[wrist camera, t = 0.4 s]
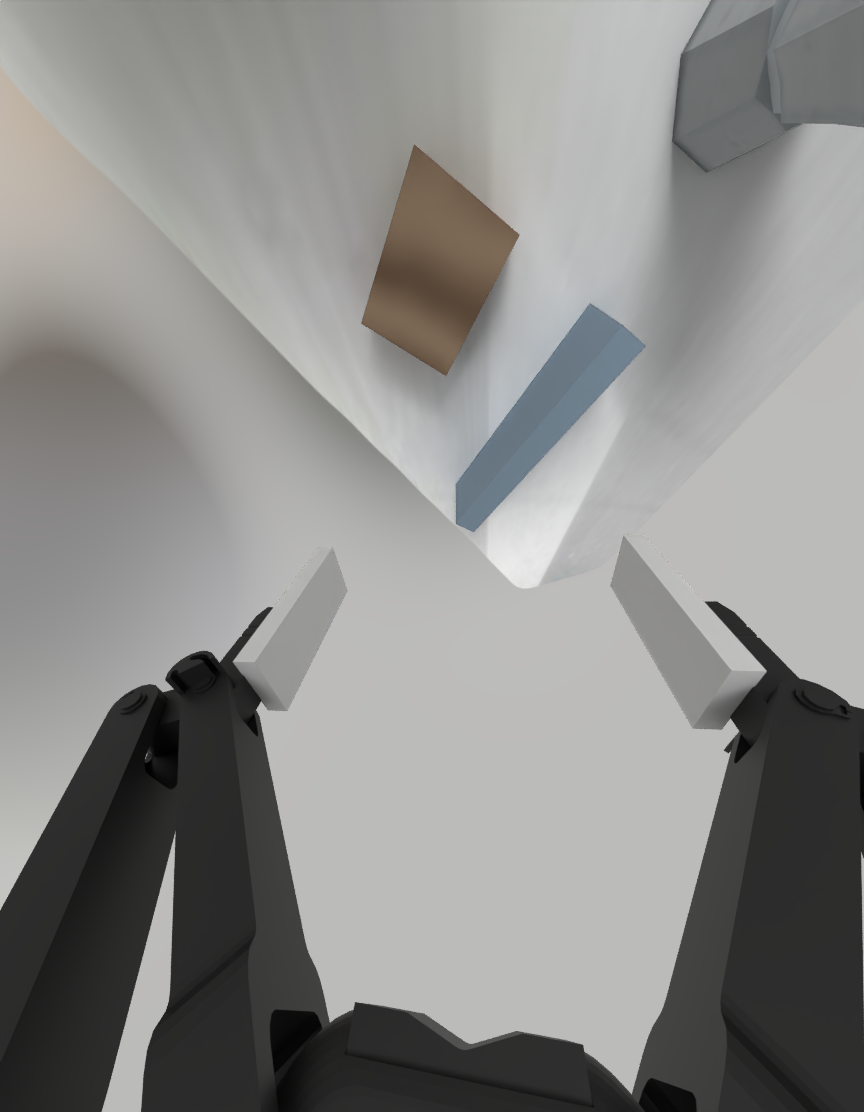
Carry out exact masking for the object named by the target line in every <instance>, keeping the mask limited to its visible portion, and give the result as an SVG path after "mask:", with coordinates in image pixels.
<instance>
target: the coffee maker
mask: <svg viewBox="0 0 864 1112" xmlns="http://www.w3.org/2000/svg"><path fill="white" fill-rule="evenodd" d="M804 123H810V124H839V125H848V126H857V127H864V0H711V2H710V4H709V5H708V7H707V9H706V11H705V13H704V14H703V16H702V18H701V20H700V22H699V23H698V25H697V27H696V29H695V31H694V32H693V34H692V36H691V38H690V40H689V41H688V43H687V45H686V47H685V49H684V51H683V52H682V54H681V61H680V71H679V81H678V91H677V100H676V110H675V120H674V130H673V140H672V141H673V142H674V143H675V144H676V145H677V146H678V147H679V148H681V149H682V150H683V151H684V152H685V153H686V154H687V155H688V156H689V157H690V158H691V159H693V160H694V161H695V162H696V163H697V164H698V165H699V166H700V167H701V168H702V169H703V170H705V171H706V172H708V171H710V170H712V169H714V168H716V167H718V166H720V165H722V164H724V163H726V162H728V161H730V160H732V159H735V158H737V157H739V156H741V155H743V154H745V153H747V152H749V151H751V150H753V149H755V148H757V147H759V146H761V145H763V144H765V143H767V142H769V141H771V140H773V139H775V138H777V137H779V136H781V135H782V134H784V133H786V132H788V131H790V130H792V129H794V128H796V127H798V126H800V125H802V124H804Z"/></svg>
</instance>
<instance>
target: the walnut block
mask: <svg viewBox="0 0 864 1112" xmlns="http://www.w3.org/2000/svg"><path fill="white" fill-rule="evenodd" d="M518 237H519V234H518V233H517V232H516V231H514V230H513V229H512V228H511V227H510V226H509V225H507V224H506V223H505V222H504V221H503V220H502V219H500V218H499V217H498V216H497V215H496V214H495V213H494V212H492V211H491V210H490V209H489V208H488V207H487V206H485V205H484V204H483V203H482V202H481V201H480V200H478V199H477V198H476V197H475V196H474V195H473V194H471V193H470V192H469V191H468V190H467V189H466V188H464V187H463V186H462V185H461V184H460V183H459V182H457V181H456V180H455V179H454V178H453V177H452V176H450V175H449V174H448V173H447V172H446V171H445V170H444V169H442V168H441V167H440V166H439V165H438V164H437V163H435V162H434V161H433V160H432V159H431V158H430V157H428V156H427V155H426V154H425V153H424V152H423V151H421V150H420V149H419V148H418V147H417V146H416V145H414V147H413V150H412V154H411V157H410V160H409V164H408V167H407V170H406V174H405V177H404V181H403V184H402V187H401V191H400V194H399V197H398V201H397V204H396V208H395V211H394V214H393V218H392V221H391V225H390V228H389V231H388V235H387V238H386V241H385V245H384V248H383V252H382V255H381V258H380V262H379V265H378V269H377V272H376V275H375V279H374V282H373V285H372V289H371V292H370V296H369V299H368V302H367V306H366V309H365V312H364V316H363V319H362V323H361V324H363V325H365V326H366V327H368V328H369V329H371V330H373V331H374V332H376V333H378V334H379V335H381V336H382V337H384V338H386V339H387V340H389V341H390V342H392V343H394V344H395V345H397V346H399V347H400V348H402V349H403V350H405V351H407V352H408V353H410V354H412V355H413V356H415V357H416V358H418V359H420V360H421V361H423V362H424V363H426V364H428V365H429V366H431V367H433V368H434V369H436V370H437V371H439V372H441V373H442V374H444V375H447V373H448V371H449V369H450V368H451V366H452V364H453V362H454V360H455V358H456V356H457V354H458V352H459V350H460V348H461V346H462V344H463V343H464V341H465V339H466V337H467V335H468V333H469V331H470V329H471V327H472V325H473V323H474V321H475V320H476V318H477V316H478V314H479V312H480V310H481V308H482V306H483V304H484V302H485V300H486V298H487V296H488V295H489V293H490V291H491V289H492V287H493V285H494V283H495V281H496V279H497V277H498V275H499V273H500V272H501V270H502V268H503V266H504V264H505V262H506V260H507V258H508V256H509V254H510V252H511V250H512V249H513V247H514V245H515V243H516V241H517V239H518Z"/></svg>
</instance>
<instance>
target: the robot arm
mask: <svg viewBox="0 0 864 1112" xmlns="http://www.w3.org/2000/svg"><path fill="white" fill-rule="evenodd" d="M611 587H612V589H613V591H614V593H615V594H616V596H617V598H618V600H619V601H620V603H621V605H622V606H623V608H624V610H625V612H626V614H627V615H628V617H629V619H630V620H631V622H632V624H633V625H634V627H635V629H636V631H637V633H638V634H639V636H640V638H641V639H642V641H643V643H644V645H645V646H646V648H647V650H648V651H649V653H650V655H651V657H652V658H653V660H654V662H655V664H656V665H657V667H658V669H659V671H660V672H661V674H662V676H663V678H664V679H665V681H666V683H667V685H668V686H669V688H670V690H671V691H672V693H673V695H674V697H675V699H676V700H677V702H678V704H679V705H680V707H681V709H682V711H683V712H684V714H685V716H686V718H687V719H688V721H689V723H690V724H691V726H692V728H696V729H720V730H721V729H723V727H724V726H725V725H726V723H727V722H728V721H729V719H730V718H731V719H732V721H733V722H734V724H735V725H736V727H737V728H738V729H739V732H738V734H737V735H736V736H735V737H734V738H733V740H732V741H731V742H730V743H729V744H728V746H727V747H726V748H725V750H724V751H726V752H728V753H729V752H730V751H731V754H730V758H729V762H728V765H727V769H726V773H725V777H724V780H723V784H722V788H721V792H720V796H719V799H718V803H717V807H716V811H715V815H714V819H713V822H712V826H711V830H710V834H709V837H708V841H707V845H706V849H705V853H704V856H703V860H702V864H701V868H700V872H699V876H698V879H697V884H696V887H695V891H694V895H693V898H692V902H691V906H690V910H689V914H688V917H687V921H686V925H685V929H684V933H683V936H682V940H681V944H680V948H679V952H678V955H677V959H676V963H675V967H674V971H673V975H672V978H671V982H670V986H669V990H668V993H667V997H666V1001H665V1004H664V1007H663V1009H662V1012H661V1014H660V1016H659V1017H658V1019H657V1020H656V1022H655V1024H654V1025H653V1027H652V1030H651V1032H650V1034H649V1037H648V1039H647V1043H646V1046H645V1049H644V1052H643V1056H642V1059H641V1063H640V1067H639V1070H638V1074H637V1078H636V1081H635V1085H634V1089H633V1092H632V1095H631V1093H629V1091H628V1090H627V1089H626V1088H625V1087H624V1086H623V1085H622V1083H620V1081H619V1080H618V1079H617V1078H616V1077H615V1076H614V1075H613V1074H612V1073H611V1072H610V1071H609V1070H607V1069H606V1068H605V1067H604V1066H603V1065H602V1064H600V1063H599V1062H598V1061H597V1060H596V1059H594V1058H593V1057H591V1056H590V1055H588V1054H587V1053H585V1052H584V1048H583V1045H582V1044H577V1043H574V1042H570V1041H566V1040H562V1039H556V1038H550V1037H546V1036H541V1035H535V1034H529V1033H524V1032H519V1031H515V1032H512V1033H509V1034H505V1035H502V1036H499V1037H495V1038H492V1039H488V1040H485V1041H481V1042H478V1043H475V1044H468V1043H466V1042H464V1041H463V1040H461V1039H460V1038H459V1037H457V1036H455V1035H454V1034H453V1033H451V1032H450V1031H448V1030H447V1029H446V1028H444V1027H443V1026H441V1025H440V1024H438V1023H437V1022H435V1021H434V1020H432V1019H431V1018H430V1017H428V1016H427V1015H425V1014H423V1013H416V1012H412V1011H406V1010H401V1009H396V1008H390V1007H385V1006H379V1005H371V1004H364V1003H357V1002H355V1006H354V1010H352V1011H349V1012H347V1013H345V1014H343V1015H341V1016H340V1017H338V1018H336V1019H334V1020H333V1021H332V1022H331V1023H330V1022H329V1017H328V1013H327V1008H326V1003H325V999H324V994H323V990H322V986H321V982H320V978H319V976H318V973H317V970H316V967H315V965H314V963H313V962H312V959H311V958H310V955H309V953H308V950H307V947H306V943H305V939H304V934H303V929H302V924H301V919H300V914H299V909H298V904H297V899H296V895H295V889H294V885H293V880H292V875H291V870H290V865H289V860H288V855H287V850H286V846H285V840H284V836H283V830H282V826H281V821H280V816H279V811H278V806H277V801H276V796H275V791H274V786H273V782H272V776H271V771H270V767H269V762H268V757H267V752H266V747H265V742H264V737H263V733H262V727H261V722H260V717H259V715H258V713H257V711H256V709H257V707H258V706H259V704H260V702H261V701H262V703H263V704H264V705H265V707H266V708H267V710H275V711H287V710H288V709H289V707H290V704H291V703H292V700H293V699H294V697H295V694H296V693H297V691H298V689H299V687H300V685H301V682H302V681H303V679H304V676H305V675H306V673H307V671H308V669H309V667H310V665H311V663H312V660H313V659H314V657H315V655H316V652H317V650H318V648H319V646H320V645H321V643H322V641H323V639H324V637H325V635H326V632H327V631H328V629H329V626H330V625H331V623H332V621H333V619H334V617H335V615H336V613H337V610H338V609H339V606H340V605H341V603H342V601H343V599H344V597H345V595H346V593H347V588H346V585H345V582H344V579H343V576H342V573H341V570H340V567H339V564H338V561H337V559H336V556H335V553H334V550H333V548H332V547H329V548H318V549H317V550H316V551H315V553H314V554H313V555H312V557H311V558H310V559H309V561H308V562H307V563H306V565H305V566H304V567H303V569H302V570H301V571H300V573H299V574H298V575H297V577H296V578H295V579H294V581H293V582H292V583H291V585H290V586H289V588H288V589H287V590H286V591H285V593H284V594H283V595H282V597H281V598H280V599H279V601H278V602H277V603H276V605H275V606H274V607H268V608H266V609H265V610H264V611H262V612H261V613H260V614H259V615H257V616H256V617H255V619H254V620H253V621H252V622H251V624H250V625H249V626H248V628H247V629H246V630H245V631H244V633H243V634H242V637H240V638H239V639H238V640H237V641H236V643H235V644H234V645H233V646H232V648H231V649H230V650H229V652H228V653H227V654H226V655H225V657H224V658H223V659H222V661H221V662H220V663H219V662H218V660H217V659H216V658H215V656H214V655H213V654H212V653H211V652H208V651H199V652H196V653H193V654H191V655H189V656H187V657H185V658H183V659H182V660H180V661H179V662H178V663H177V664H176V665H174V666H173V667H172V668H171V670H170V671H169V672H168V674H167V676H166V679H165V680H166V681H167V682H168V683H169V684H170V685H171V686H172V687H173V688H174V690H170V691H167V692H162V691H161V690H160V689H159V688H158V687H157V686H156V685H151V684H149V685H144V686H141V687H138V688H136V689H134V690H132V691H130V692H128V693H127V694H125V695H124V696H123V697H121V698H120V699H119V700H118V701H117V702H116V703H115V704H114V705H113V707H112V708H111V709H110V711H109V712H108V714H107V716H106V718H105V719H104V721H103V723H102V725H101V727H100V729H99V730H98V732H97V734H96V736H95V738H94V740H93V741H92V744H91V745H90V747H89V749H88V751H87V752H86V754H85V756H84V758H83V760H82V762H81V763H80V765H79V767H78V769H77V771H76V773H75V774H74V776H73V778H72V780H71V782H70V784H69V786H68V787H67V789H66V791H65V793H64V795H63V796H62V798H61V800H60V802H59V804H58V806H57V808H56V809H55V811H54V813H53V815H52V817H51V819H50V820H49V822H48V824H47V826H46V828H45V830H44V831H43V833H42V835H41V837H40V839H39V840H38V842H37V844H36V846H35V848H34V850H33V852H32V853H31V855H30V857H29V859H28V861H27V863H26V864H25V866H24V868H23V870H22V872H21V873H20V875H19V877H18V879H17V881H16V883H15V884H14V886H13V888H12V890H11V892H10V894H9V895H8V897H7V899H6V901H5V903H4V904H3V906H2V908H1V910H0V1112H101V1111H102V1108H103V1105H104V1101H105V1098H106V1094H107V1090H108V1087H109V1083H110V1079H111V1076H112V1072H113V1068H114V1064H115V1060H116V1056H117V1052H118V1049H119V1045H120V1041H121V1037H122V1033H123V1030H124V1026H125V1022H126V1018H127V1014H128V1011H129V1007H130V1003H131V998H132V995H133V991H134V988H135V983H136V980H137V976H138V972H139V968H140V965H141V961H142V957H143V953H144V949H145V945H146V942H147V938H148V934H149V930H150V926H151V922H152V919H153V915H154V911H155V907H156V903H157V899H158V896H159V892H160V888H161V884H162V881H163V877H164V873H165V869H166V865H167V861H168V857H169V854H170V850H171V846H172V842H173V838H174V834H175V831H176V838H175V869H174V898H173V927H172V928H173V929H172V955H171V956H172V957H171V984H170V996H169V1003H168V1006H167V1009H166V1012H165V1013H164V1015H163V1017H162V1018H161V1020H160V1022H159V1023H158V1024H157V1026H156V1027H155V1029H154V1031H153V1034H152V1037H151V1040H150V1043H149V1046H148V1050H147V1056H146V1062H145V1069H144V1078H143V1093H142V1108H141V1112H864V1005H863V1004H864V1003H863V1002H864V1001H863V949H862V948H863V947H862V945H863V943H862V884H861V882H862V881H861V852H862V855H863V858H864V709H861V708H857V707H853V706H850V705H849V704H848V702H847V701H846V700H844V699H843V698H841V697H840V696H838V695H837V694H836V693H834V692H833V691H831V690H829V689H827V688H825V687H823V686H821V685H818V684H816V683H813V682H810V681H807V680H804V679H799V678H798V677H797V676H796V675H795V674H794V673H793V672H792V671H791V670H790V669H789V668H788V667H787V666H786V665H785V664H784V662H782V660H781V659H780V658H779V657H778V656H777V655H776V654H775V653H774V652H773V651H772V650H771V649H770V648H769V647H768V646H767V645H766V644H765V643H764V642H763V641H762V640H761V639H760V638H757V637H756V636H757V635H756V634H755V633H754V632H753V631H752V630H751V629H750V628H749V627H747V626H746V624H745V623H744V622H743V621H742V620H741V619H740V618H739V617H738V616H737V615H736V614H735V613H734V612H733V611H731V610H730V609H728V608H726V607H725V606H723V605H721V604H720V603H718V602H704V601H703V600H702V599H701V598H700V597H699V595H698V594H697V593H696V592H695V591H694V590H693V589H692V588H691V587H690V585H688V583H687V582H686V581H685V580H684V579H683V578H682V577H681V576H680V575H679V573H678V572H677V571H676V570H675V569H674V568H673V567H672V566H671V564H670V563H669V562H668V561H667V560H666V559H665V558H664V557H663V556H662V555H661V554H660V552H659V551H658V550H657V549H656V548H655V547H654V546H653V545H652V543H651V542H650V541H649V540H648V539H647V538H646V537H645V536H644V535H624V537H623V540H622V544H621V548H620V552H619V556H618V559H617V563H616V567H615V570H614V574H613V578H612V582H611ZM147 752H148V755H147V757H146V754H147ZM145 757H146V759H145Z"/></svg>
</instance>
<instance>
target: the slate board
mask: <svg viewBox="0 0 864 1112" xmlns="http://www.w3.org/2000/svg"><path fill="white" fill-rule="evenodd" d="M644 347H645V345H644V344H643V343H642V342H641V341H640V340H639V339H638V338H636V337H635V336H634V335H633V334H632V333H631V332H630V331H629V330H627V329H626V328H625V327H624V326H623V325H622V324H620V323H619V322H617V321H616V320H614V319H613V318H611V317H610V316H608V315H607V314H605V313H604V312H602V311H601V310H599V309H598V308H596V307H595V306H593V305H592V304H589V306H588V307H587V308H586V310H585V311H584V312H583V314H582V315H581V316H580V318H579V319H578V320H577V322H576V323H575V324H574V326H573V327H572V329H571V330H570V331H569V333H568V334H567V335H566V337H565V338H564V339H563V341H562V342H561V343H560V345H559V346H558V347H557V349H556V350H555V351H554V353H553V354H552V356H551V357H550V358H549V360H548V361H547V362H546V364H545V365H544V366H543V368H542V369H541V370H540V372H539V373H538V374H537V376H536V377H535V378H534V380H533V381H532V382H531V384H530V385H529V387H528V388H527V389H526V391H525V392H524V393H523V395H522V396H521V397H520V399H519V400H518V401H517V403H516V404H515V405H514V407H513V408H512V409H511V411H510V412H509V413H508V415H507V416H506V418H505V419H504V420H503V422H502V423H501V424H500V426H499V427H498V428H497V430H496V431H495V432H494V434H493V435H492V436H491V438H490V439H489V440H488V442H487V443H486V445H485V446H484V447H483V449H482V450H481V451H480V453H479V454H478V455H477V457H476V458H475V459H474V461H473V462H472V463H471V465H470V466H469V467H468V469H467V470H466V471H465V473H464V474H463V476H462V477H461V478H460V480H459V481H458V482H457V484H456V524H457V525H459V526H462V527H464V528H466V529H468V530H470V531H472V532H474V531H475V530H476V529H477V528H478V527H479V526H480V525H481V524H482V523H483V521H484V520H485V519H486V518H487V517H488V516H489V515H490V514H491V513H492V512H493V511H494V510H495V509H496V507H497V506H498V505H499V504H500V503H501V502H502V501H503V500H504V499H505V498H506V497H507V496H508V494H509V493H510V492H511V491H512V490H513V489H514V488H515V487H516V486H517V485H518V484H519V483H520V482H521V480H522V479H523V478H524V477H525V476H526V475H527V474H528V473H529V472H530V471H531V470H532V469H533V467H534V466H535V465H536V464H537V463H538V462H539V461H540V460H541V459H542V458H543V457H544V456H545V454H546V453H547V452H548V451H549V450H550V449H551V448H552V447H553V446H554V445H555V444H556V443H557V442H558V440H559V439H560V438H561V437H562V436H563V435H564V434H565V433H566V432H567V431H568V430H569V429H570V427H571V426H572V425H573V424H574V423H575V422H576V421H577V420H578V419H579V418H580V417H581V416H582V414H583V413H584V412H585V411H586V410H587V409H588V408H589V407H590V406H591V405H592V404H593V403H594V402H595V400H596V399H597V398H598V397H599V396H600V395H601V394H602V393H603V392H604V391H605V390H606V389H607V387H608V386H609V385H610V384H611V383H612V382H613V381H614V380H615V379H616V378H617V377H618V376H619V375H620V373H621V372H622V371H623V370H624V369H625V368H626V367H627V366H628V365H629V364H630V363H631V362H632V360H633V359H634V358H635V357H636V356H637V355H638V354H639V353H640V352H641V351H642V350H643V349H644Z"/></svg>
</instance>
